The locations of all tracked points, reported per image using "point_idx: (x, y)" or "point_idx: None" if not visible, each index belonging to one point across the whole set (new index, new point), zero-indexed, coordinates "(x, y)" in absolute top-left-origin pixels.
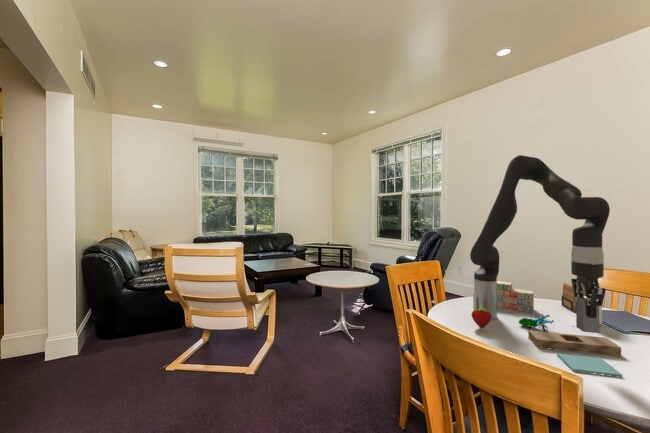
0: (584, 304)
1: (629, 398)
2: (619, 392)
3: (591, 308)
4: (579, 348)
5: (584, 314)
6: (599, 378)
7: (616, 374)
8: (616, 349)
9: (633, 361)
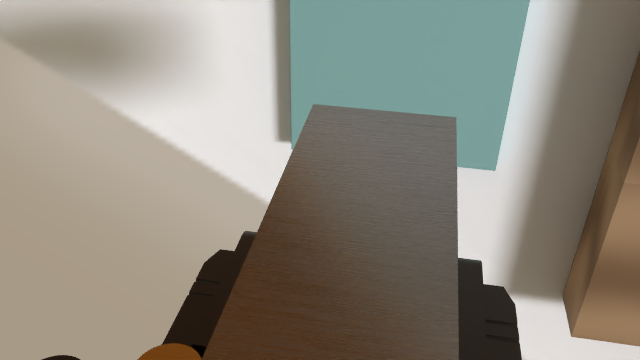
0: (218, 334)
1: (75, 35)
2: (117, 24)
3: (168, 337)
4: (628, 120)
5: (262, 225)
6: (246, 11)
7: (292, 124)
8: (575, 308)
9: None
